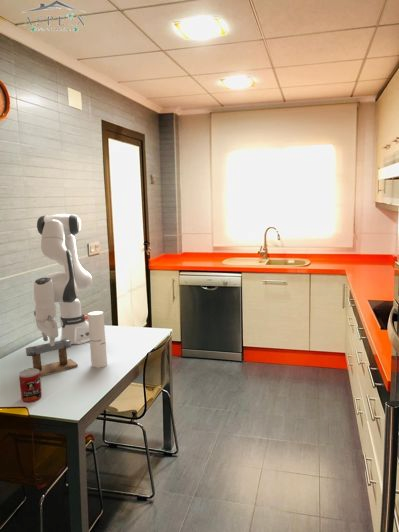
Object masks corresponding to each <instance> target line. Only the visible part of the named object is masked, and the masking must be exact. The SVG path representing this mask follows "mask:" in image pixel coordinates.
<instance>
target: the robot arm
mask: <svg viewBox="0 0 399 532" xmlns="http://www.w3.org/2000/svg"><path fill="white" fill-rule="evenodd" d="M81 228H82V221H81V218H80V217H79V215H77V214H74V213H71V214H67V213H62V214H61V213H59V214H52V215H51V214H50V215H49V214H48V215H42V216H39V217H38V218H37V221H36V229H37V231H38V234H40V235H41V239H40V241H41V242H40V248H41V252H42V254H43V255H44V256H45V257H47V259H50V260H52V261H56V262H57V263H58V264H59V265H60V266H63V268H64V271H54V272H51V273H47V274H46V276H45V277H41V278H38V279H35V281H34V282H33V283H34V284H33V299H34V302H35V307H34V308H35V309H34V311H33V315H34V317H35V322H36V327H37V329H38V330H39V331H40V332H41V335H42V340H43V342H47V341H48V340H49V342H48V343H50V346H54V342H56V339H57V338H58V337H59V328H58V322H57V320H55V318H56V317H57V310H56V309H57V307H56V303H58V304H59V310H60V319H59V320H60V327H61V332H60V333H61V335H60V340H59V341H61V340H64V339H70V340H71V345H82V344H84V343H88V342H89V343H90V337H89V324H88V314H87V315H86V314H82V304H81V301H80V299H79V292H81V291H82V292H83V291H85V290H86V291H87V290H90V289H91V287H92V285H93V276H92V275H91V273H89V271H87V270H85V269H84V268H83V266H82V265H81V264H80V261H79V259H78V253H77V245H76V237H75V236H76V235H77V234H78V233H79V232H80V231H81ZM48 338H49V339H48Z"/></svg>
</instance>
